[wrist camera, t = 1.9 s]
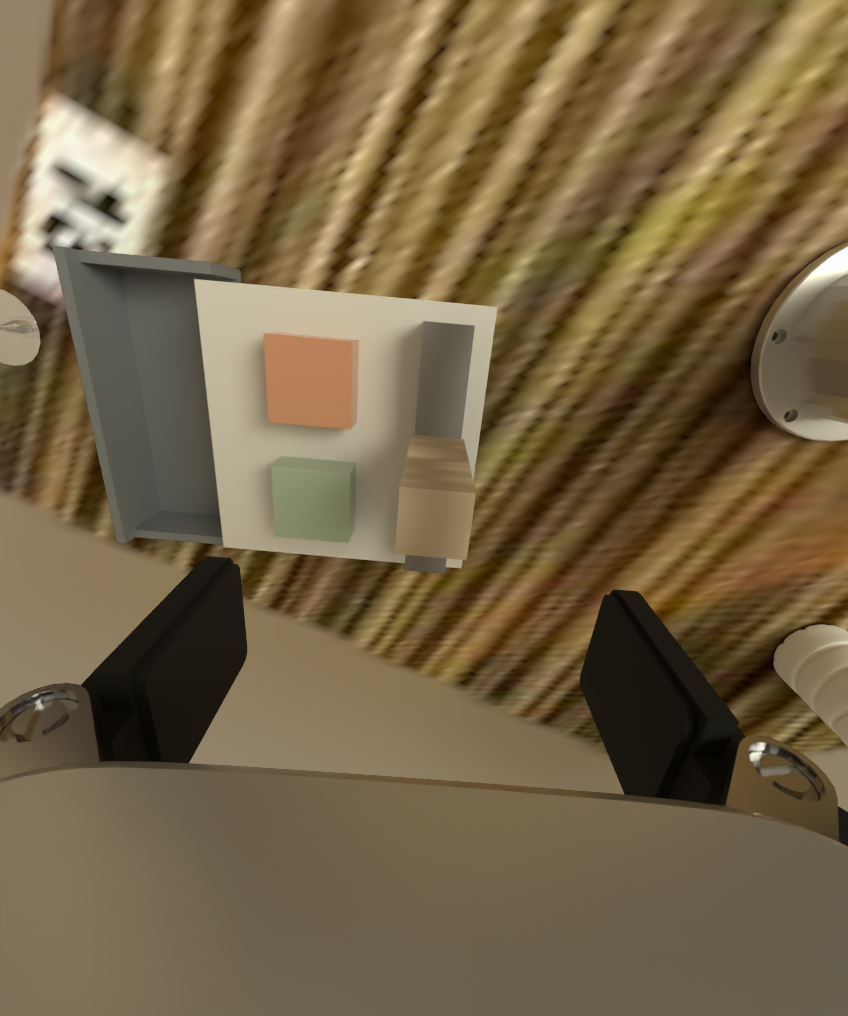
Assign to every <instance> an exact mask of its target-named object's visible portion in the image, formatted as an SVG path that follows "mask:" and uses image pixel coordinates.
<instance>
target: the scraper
mask: <svg viewBox="0 0 848 1016" xmlns="http://www.w3.org/2000/svg"><path fill="white" fill-rule="evenodd" d="M474 329H475V326H473V325H462V324H451V323H440V322H429V321H423V332H422V345H421V358H420V371H419V384H418V397H417V410H416V423H415V435H412V436H411V440H410V444H409V448H408V453H407V457H406V461H405V465H404V470H403V474H402V478H401V482H400V487H399V501H398V516H397V531H396V546H395V554H403V555H405V565H404V570H409V571H420V572H431V573H443V574H445V569H446V561H447V558H448V559H459V560H467V553H468V546H469V539H470V532H471V525H472V518H473V511H474V504H475V497H476V491H475V487H474V482H473V478H472V473H471V469H470V464H469V460H468V455H467V451H466V446H465V442H464V439H461V437H462V428H463V420H464V412H465V403H466V395H467V387H468V379H469V370H470V362H471V354H472V345H473V337H474Z"/></svg>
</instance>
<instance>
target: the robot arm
mask: <svg viewBox="0 0 848 1016" xmlns="http://www.w3.org/2000/svg"><path fill="white" fill-rule="evenodd" d="M751 383H752V388H753V394H754V396H755V399H756V401H757V403H758V405H759V408H760V409H761V411H762V412H763V413H764V414H765V416H766V417H767V418H768V420H769V421H771V422H772V423H773V424H775V425H776V426H777V427H779V428H780V429H781V430H784V431H786V432H788V433H791V434H793V435H795V436H799V437H802V438H806V439H809V440H815V441H826V442H832V441H843V440H848V241H847V242H845V243H843V244H841V245H839V246H837V247H835V248H833V249H831V250H829V251H827V252H826V253H825V254H823V255H822V256H820V257H819V258H818V259H816V260H815V261H813V262H812V263H810V264H809V265H808V266H807V267H806V268H805V269H803V270H802V271H801V272H800V273H799V274H798V275H797V276H796V277H795V278H794V279H793V280H792V281H791V282H790V283H789V284H788V285H787V287H786V288H785V289H784V290H783V292H782V293H781V294H780V295H779V296H778V298H777V299H776V300H775V302H774V303H773V305H772V307H771V309H770V310H769V312H768V314H767V315H766V317H765V319H764V320H763V323H762V325H761V328H760V330H759V333H758V335H757V338H756V340H755V345H754V349H753V353H752V358H751ZM246 655H247V640H246V629H245V619H244V608H243V597H242V586H241V576H240V568H239V565H237V564H233V561H232V559H230V558H223V557H211V556H207V557H205V558H203V559H202V561H201V562H200V563H199V564H198V565H197V566H196V567H195V568H194V569H193V570H192V571H191V572H190V573H189V574H188V575H187V576H186V577H185V578H184V579H183V580H182V581H181V582H180V583H179V584H178V585H177V586H176V587H175V588H174V589H173V590H172V591H171V592H170V593H169V594H168V595H167V597H166V598H165V599H164V600H163V601H162V602H161V603H160V604H159V605H158V606H157V607H156V608H155V609H154V610H153V611H152V612H151V613H150V614H149V615H148V616H147V617H146V618H145V619H144V620H143V621H142V622H141V623H140V624H139V625H138V626H137V627H136V629H134V630H133V631H132V633H130V635H129V636H128V637H127V638H126V639H125V640H124V641H123V642H122V643H121V644H120V645H119V646H118V647H117V648H116V649H115V650H114V651H113V652H112V653H111V654H110V655H109V656H108V657H107V658H106V659H105V660H104V661H103V662H102V663H101V664H100V665H99V666H98V668H96V669H95V670H94V672H93V673H92V674H91V675H90V676H89V677H88V678H87V679H86V680H85V681H84V682H83V684H82V685H78V684H71V683H61V684H52V685H48V686H44V687H40V688H37V689H34V690H32V691H30V692H27V693H25V694H22V695H20V696H19V697H17V698H16V699H14V700H12V701H10V702H8V703H7V704H5V705H4V706H3V707H2V708H1V709H0V1016H848V812H847V811H845V810H843V809H842V808H840V807H838V798H837V795H836V791H835V788H834V786H833V785H832V783H831V781H830V780H829V778H828V777H827V775H826V774H825V773H824V772H823V771H822V770H821V769H820V768H819V767H818V766H817V765H816V764H815V763H814V762H812V761H811V760H810V759H809V758H807V757H806V756H805V755H803V754H802V753H800V752H799V751H797V750H795V749H794V748H792V747H790V746H789V745H787V744H784V743H782V742H780V741H777V740H775V739H772V738H768V737H764V736H748V737H745V736H744V735H743V733H742V732H741V731H740V729H739V728H738V727H737V726H738V724H739V721H738V720H737V719H736V717H735V716H734V715H733V713H732V712H731V711H730V710H729V708H728V707H727V706H726V704H725V703H724V702H723V701H722V699H721V698H720V697H719V695H718V694H717V693H716V691H715V690H714V689H713V688H712V686H711V685H710V684H709V682H708V681H707V680H706V679H705V677H704V676H703V675H702V673H701V672H700V671H699V669H698V668H697V667H696V666H695V664H694V663H693V662H692V660H691V659H690V658H689V657H688V655H687V654H686V653H685V651H684V650H683V649H682V647H681V646H680V645H679V644H678V642H677V641H676V640H675V638H674V637H673V636H672V635H671V633H670V632H669V631H668V629H667V628H666V627H665V625H664V624H663V623H662V622H661V620H660V619H659V618H658V616H657V615H656V614H655V613H654V611H653V610H652V609H651V607H650V606H649V605H648V603H647V602H646V601H645V600H644V598H643V597H642V596H641V594H640V593H638V592H636V591H626V590H613V591H612V592H611V593H610V595H605V596H604V597H603V600H602V603H601V607H600V610H599V614H598V617H597V620H596V624H595V627H594V631H593V634H592V637H591V641H590V644H589V648H588V651H587V654H586V658H585V661H584V665H583V668H582V671H581V676H580V684H581V689H582V692H583V694H584V697H585V699H586V701H587V704H588V706H589V709H590V711H591V714H592V716H593V718H594V721H595V723H596V726H597V728H598V731H599V733H600V736H601V738H602V740H603V743H604V745H605V748H606V750H607V753H608V755H609V757H610V760H611V762H612V765H613V767H614V770H615V772H616V774H617V777H618V779H619V782H620V784H621V787H622V789H623V791H624V794H625V795H622V794H612V793H600V792H587V791H574V790H561V789H549V788H537V787H524V786H511V785H499V784H486V783H472V782H459V781H445V780H431V779H418V778H405V777H390V776H376V775H363V774H349V773H334V772H319V771H304V770H289V769H274V768H259V767H244V766H230V765H210V764H209V765H208V764H189V762H190V760H191V758H192V756H193V755H194V753H195V751H196V749H197V747H198V746H199V744H200V742H201V740H202V738H203V737H204V735H205V733H206V731H207V729H208V728H209V725H210V724H211V722H212V720H213V719H214V717H215V715H216V713H217V711H218V709H219V708H220V706H221V704H222V702H223V700H224V698H225V697H226V695H227V693H228V691H229V689H230V688H231V686H232V684H233V682H234V681H235V679H236V677H237V675H238V673H239V671H240V670H241V668H242V666H243V664H244V662H245V659H246Z"/></svg>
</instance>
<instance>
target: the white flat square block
mask: <svg viewBox="0 0 848 1016" xmlns="http://www.w3.org/2000/svg"><path fill="white" fill-rule="evenodd" d="M194 283H195V292H196V301H197V310H198V319H199V328H200V337H201V346H202V356H203V365H204V374H205V383H206V392H207V401H208V410H209V419H210V428H211V437H212V446H213V455H214V464H215V473H216V482H217V491H218V501H219V510H220V519H221V528H222V537H223V546H224V547H227V548H239V549H250V550H261V551H272V552H284V553H295V554H306V555H317V556H329V557H340V558H351V559H362V560H374V561H385V562H396V563H405V555H403V554H395V546H396V531H397V516H398V501H399V487H400V482H401V478H402V474H403V470H404V465H405V461H406V457H407V453H408V448H409V444H410V440H411V436H412V435H415V423H416V410H417V397H418V384H419V371H420V358H421V345H422V332H423V321H429V322H440V323H451V324H462V325H473V326H475V329H474V337H473V345H472V354H471V362H470V370H469V379H468V387H467V395H466V403H465V412H464V420H463V428H462V437H461V439H464V442H465V446H466V451H467V455H468V460H469V464H470V469H471V473H472V478H473V480H474V473H475V466H476V458H477V451H478V444H479V436H480V429H481V422H482V415H483V407H484V400H485V393H486V385H487V378H488V371H489V364H490V356H491V349H492V342H493V335H494V327H495V320H496V313H497V307H491V306H480V305H469V304H459V303H448V302H437V301H426V300H415V299H405V298H394V297H383V296H372V295H361V294H351V293H340V292H329V291H318V290H307V289H297V288H286V287H275V286H264V285H253V284H243V283H232V282H221V281H210V280H199V279H194ZM263 333H288V334H299V335H310V336H321V337H332V338H342V339H353V340H359V365H358V406H357V423H356V424H355V425H354V426H353V427H352V429H351V430H350V429H339V428H328V427H317V426H306V425H295V424H284V423H273V422H268V406H267V388H266V370H265V353H264V335H263ZM282 456H289V457H300V458H311V459H322V460H334V461H345V462H356V489H355V529H354V531H353V534H352V536H351V539H350V541H349V543H343V542H332V541H320V540H309V539H298V538H287V537H276V536H275V529H274V511H273V494H272V476H271V465H272V464H274V463H275V462H276V461H277V460H278V459H279V458H281V457H282ZM446 567H452V568H461V567H462V560H459V559H448V558H447V561H446Z"/></svg>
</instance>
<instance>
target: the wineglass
mask: <svg viewBox="0 0 848 1016" xmlns="http://www.w3.org/2000/svg"><path fill="white" fill-rule="evenodd" d="M39 347H40V333H39V329H38V327H37V324H36V321H35V319H34V317H33V316H32V314H31V313H30V311H29V310H28V309H27V307H26V306H25V305H24V304H23V303H22V302H21V301H19V300H18V299H17V298H16V297H15V296H13V295H11V294H9V293H8V292H6V291H4V290H1V289H0V362H1V363H4V364H8V365H12V366H17V365H25V364H27V363H29V362H30V361H32V360H33V359H34V358H35V356H36V355H37V354H38V351H39Z"/></svg>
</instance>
